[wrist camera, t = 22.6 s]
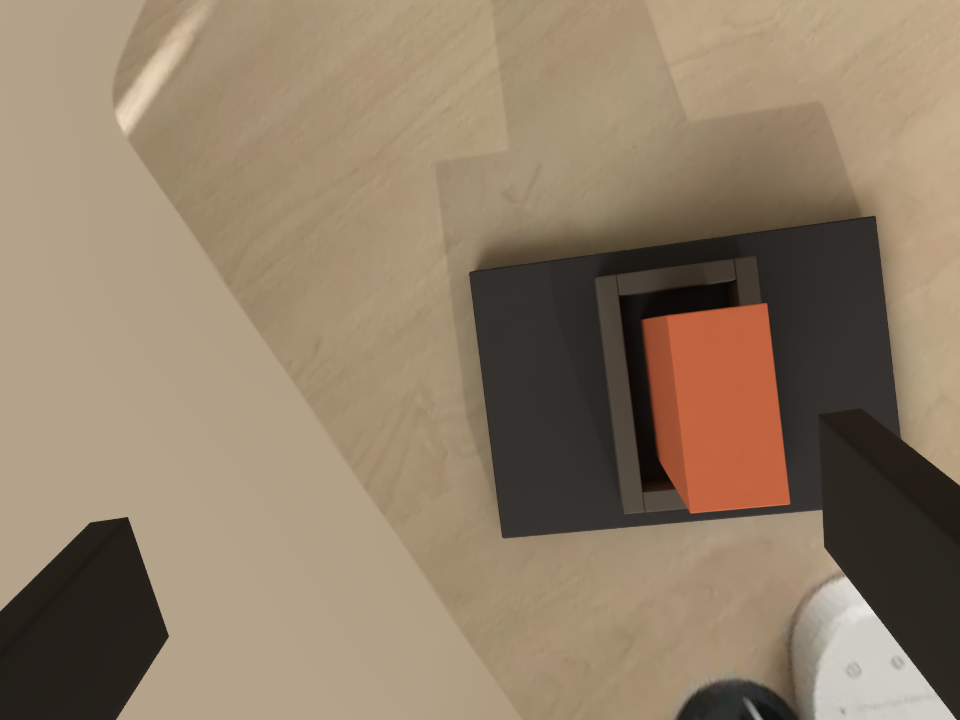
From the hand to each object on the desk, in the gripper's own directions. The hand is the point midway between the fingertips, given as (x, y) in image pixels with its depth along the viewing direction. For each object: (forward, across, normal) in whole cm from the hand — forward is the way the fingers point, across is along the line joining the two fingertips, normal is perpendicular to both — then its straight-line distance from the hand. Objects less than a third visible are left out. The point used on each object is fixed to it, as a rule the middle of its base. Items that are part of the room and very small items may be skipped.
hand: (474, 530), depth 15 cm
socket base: (+25, +9, -7) cm, 28 cm away
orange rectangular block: (+24, +9, -7) cm, 26 cm away
